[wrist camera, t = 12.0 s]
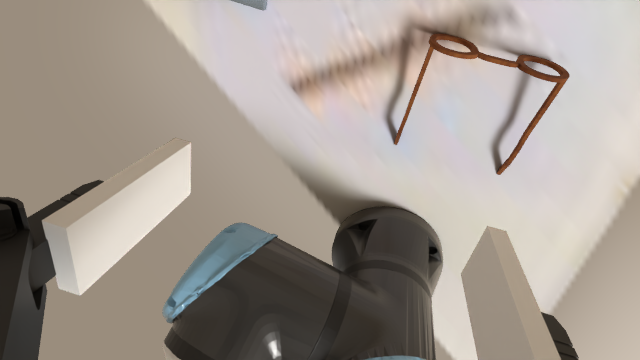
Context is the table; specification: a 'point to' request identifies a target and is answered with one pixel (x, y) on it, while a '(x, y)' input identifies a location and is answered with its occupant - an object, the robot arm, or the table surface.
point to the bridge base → (253, 3)
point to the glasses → (519, 63)
